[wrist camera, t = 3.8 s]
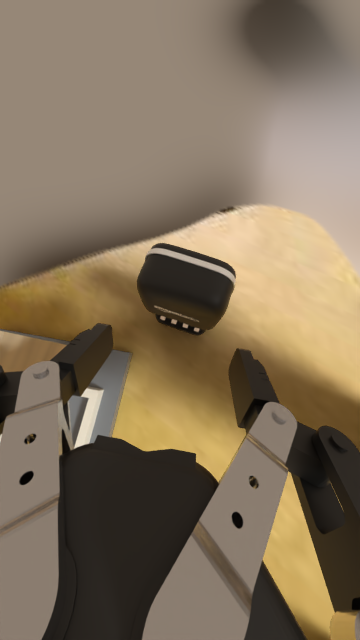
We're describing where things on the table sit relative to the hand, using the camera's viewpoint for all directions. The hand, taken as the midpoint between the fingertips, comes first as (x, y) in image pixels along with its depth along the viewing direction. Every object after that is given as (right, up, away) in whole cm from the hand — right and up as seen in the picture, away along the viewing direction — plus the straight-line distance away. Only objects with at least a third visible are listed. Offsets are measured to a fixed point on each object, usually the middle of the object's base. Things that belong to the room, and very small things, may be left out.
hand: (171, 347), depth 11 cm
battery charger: (+1, +2, +11) cm, 11 cm away
